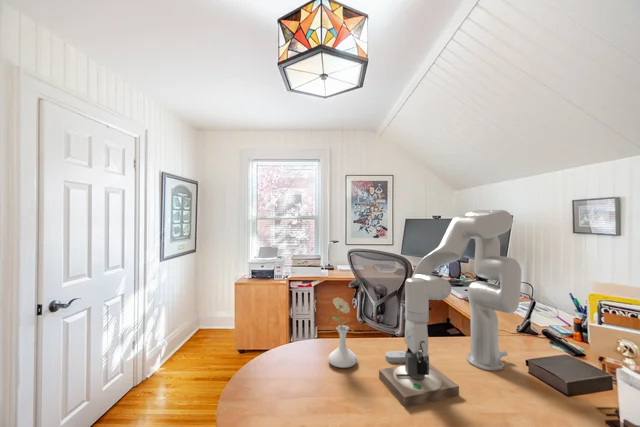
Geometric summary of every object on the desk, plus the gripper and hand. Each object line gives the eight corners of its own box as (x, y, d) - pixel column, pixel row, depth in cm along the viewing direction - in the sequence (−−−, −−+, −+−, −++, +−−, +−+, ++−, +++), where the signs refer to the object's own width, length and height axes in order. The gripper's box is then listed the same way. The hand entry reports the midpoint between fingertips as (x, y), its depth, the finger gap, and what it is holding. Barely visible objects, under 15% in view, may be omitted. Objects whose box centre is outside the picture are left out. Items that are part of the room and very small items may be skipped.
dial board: (427, 369, 106) (427, 360, 106) (459, 395, 90) (459, 385, 90) (379, 377, 100) (379, 368, 100) (404, 407, 85) (404, 396, 85)
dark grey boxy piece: (424, 371, 98) (424, 351, 98) (430, 380, 93) (430, 358, 93) (394, 372, 98) (394, 351, 98) (398, 380, 93) (398, 358, 93)
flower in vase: (363, 366, 108) (362, 301, 108) (337, 374, 103) (337, 305, 103) (345, 352, 119) (345, 293, 120) (321, 357, 114) (321, 296, 115)
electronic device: (383, 333, 116) (419, 332, 116) (384, 357, 116) (420, 356, 116) (386, 339, 111) (424, 338, 111) (387, 364, 111) (425, 363, 111)
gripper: (398, 307, 104) (398, 354, 104) (414, 324, 87) (415, 381, 86) (418, 306, 104) (418, 353, 104) (438, 324, 87) (439, 381, 87)
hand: (416, 366), depth 95 cm, fingers open, 8 cm apart
